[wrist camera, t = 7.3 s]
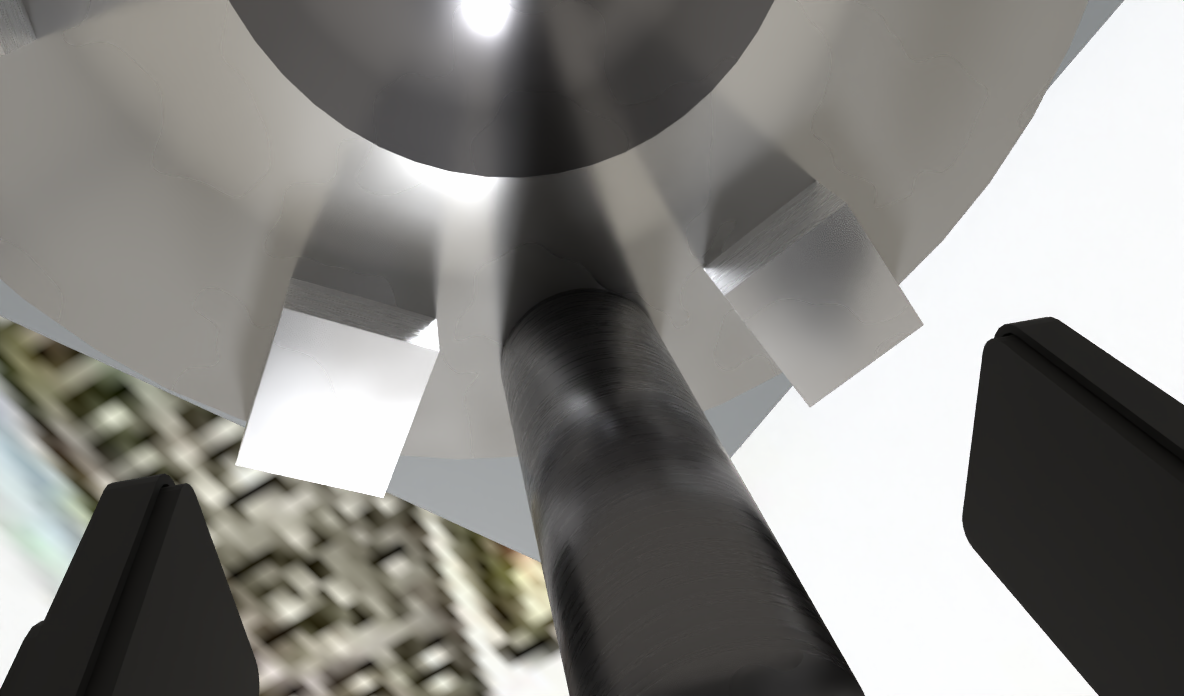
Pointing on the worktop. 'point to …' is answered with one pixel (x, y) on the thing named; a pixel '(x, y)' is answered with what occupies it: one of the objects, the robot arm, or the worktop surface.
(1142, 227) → the worktop surface
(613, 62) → the grey round knob
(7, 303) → the mount plate
